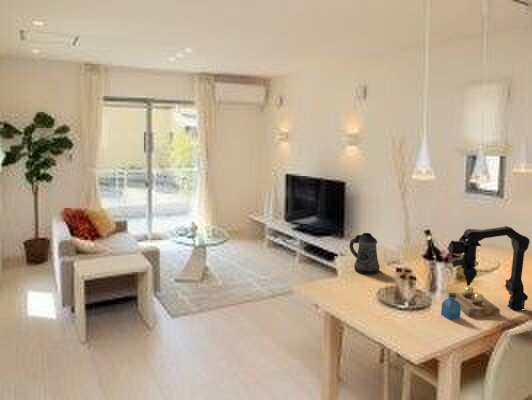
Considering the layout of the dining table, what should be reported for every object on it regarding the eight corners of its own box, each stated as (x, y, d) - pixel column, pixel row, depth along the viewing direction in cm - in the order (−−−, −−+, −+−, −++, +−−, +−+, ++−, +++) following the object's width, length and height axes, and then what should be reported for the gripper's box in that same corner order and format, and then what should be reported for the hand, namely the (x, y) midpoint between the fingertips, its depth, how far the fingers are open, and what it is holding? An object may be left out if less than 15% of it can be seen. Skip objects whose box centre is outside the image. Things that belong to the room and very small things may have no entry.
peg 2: (480, 300, 226) (480, 293, 225) (484, 303, 222) (485, 296, 221) (472, 300, 226) (473, 293, 225) (476, 303, 222) (477, 296, 221)
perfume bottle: (449, 319, 214) (451, 296, 212) (440, 314, 220) (442, 292, 218) (459, 318, 216) (461, 295, 214) (451, 313, 222) (453, 291, 220)
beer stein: (382, 275, 279) (384, 237, 275) (352, 274, 279) (354, 236, 275) (375, 267, 295) (377, 231, 291) (347, 266, 295) (348, 230, 291)
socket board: (476, 299, 241) (477, 292, 240) (499, 316, 219) (500, 309, 218) (448, 299, 240) (448, 292, 239) (467, 316, 218) (468, 309, 218)
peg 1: (470, 293, 236) (471, 286, 235) (474, 296, 232) (474, 289, 231) (463, 293, 235) (463, 286, 235) (466, 296, 231) (467, 289, 231)
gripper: (452, 247, 236) (450, 275, 239) (453, 257, 219) (451, 286, 222) (474, 249, 233) (472, 277, 235) (478, 259, 215) (475, 289, 218)
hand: (467, 282), depth 227 cm, fingers open, 9 cm apart
